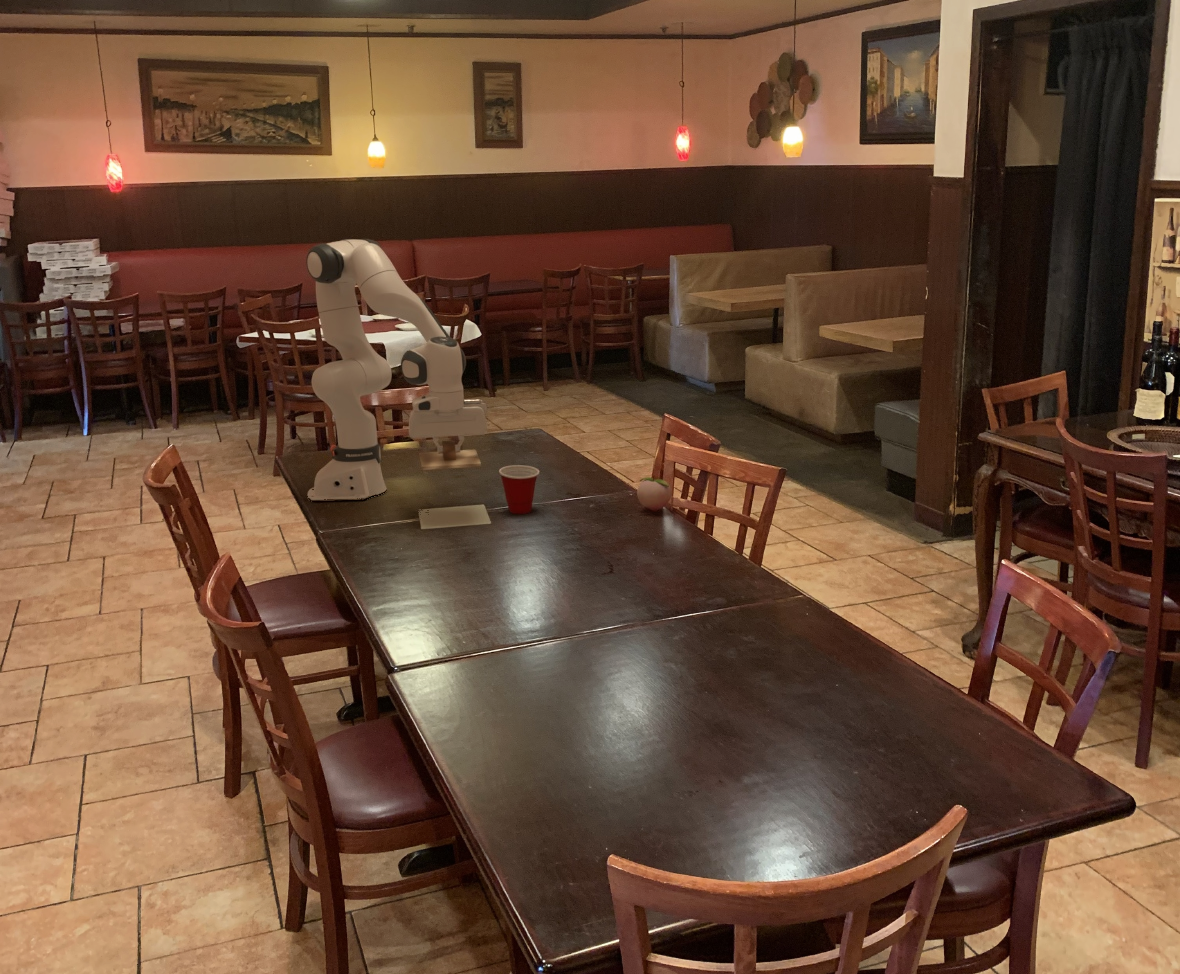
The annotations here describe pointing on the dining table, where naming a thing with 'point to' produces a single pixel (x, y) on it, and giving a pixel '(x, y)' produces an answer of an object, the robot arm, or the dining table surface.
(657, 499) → the decorative fruit
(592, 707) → the dining table surface
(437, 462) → the lid
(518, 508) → the plastic cup
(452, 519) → the mat
